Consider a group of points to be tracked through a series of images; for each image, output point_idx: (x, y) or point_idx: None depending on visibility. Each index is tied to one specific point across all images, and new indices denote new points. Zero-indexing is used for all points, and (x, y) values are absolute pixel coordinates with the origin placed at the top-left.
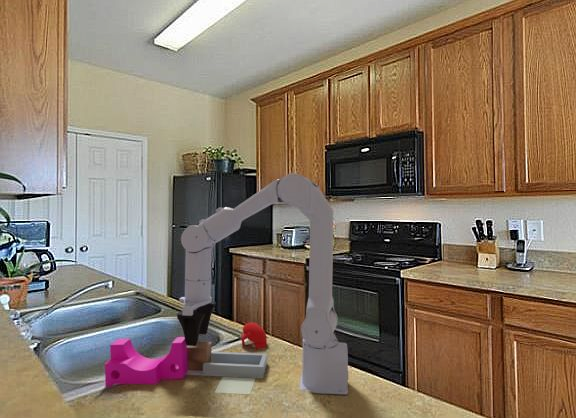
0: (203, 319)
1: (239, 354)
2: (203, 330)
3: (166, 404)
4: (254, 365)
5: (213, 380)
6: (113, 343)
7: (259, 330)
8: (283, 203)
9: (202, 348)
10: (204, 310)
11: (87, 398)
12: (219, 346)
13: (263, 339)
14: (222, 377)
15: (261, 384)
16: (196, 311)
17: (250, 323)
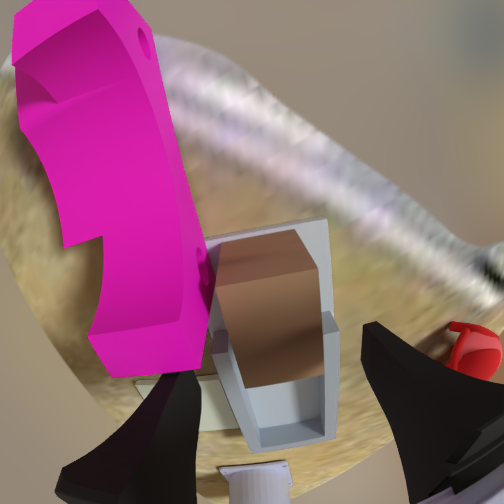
0: (396, 407)
1: (324, 402)
2: (368, 364)
3: (54, 304)
4: (254, 443)
5: (208, 356)
6: (28, 8)
7: None
8: None
9: (241, 375)
10: (416, 456)
11: (6, 98)
12: (461, 257)
13: None
14: (216, 380)
15: (229, 431)
16: (429, 420)
17: (490, 373)
